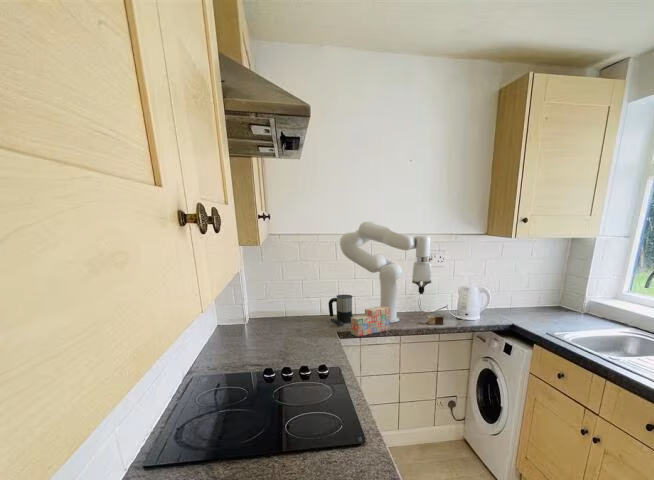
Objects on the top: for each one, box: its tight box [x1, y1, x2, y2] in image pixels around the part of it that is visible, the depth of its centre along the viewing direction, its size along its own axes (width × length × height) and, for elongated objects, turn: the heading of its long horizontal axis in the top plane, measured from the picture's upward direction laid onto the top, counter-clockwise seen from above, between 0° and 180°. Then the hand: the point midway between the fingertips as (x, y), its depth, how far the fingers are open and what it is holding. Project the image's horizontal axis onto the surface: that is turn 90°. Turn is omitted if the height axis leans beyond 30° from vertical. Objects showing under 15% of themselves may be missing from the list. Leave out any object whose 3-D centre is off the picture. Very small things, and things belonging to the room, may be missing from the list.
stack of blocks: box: [350, 305, 391, 337], centre depth 215 cm, size 21×6×12 cm, turn 130°
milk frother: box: [328, 294, 353, 326], centre depth 232 cm, size 14×16×15 cm
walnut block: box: [434, 314, 445, 326], centre depth 234 cm, size 4×4×4 cm
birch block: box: [426, 315, 436, 326], centre depth 234 cm, size 4×4×4 cm
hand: (421, 293), depth 228 cm, fingers closed
